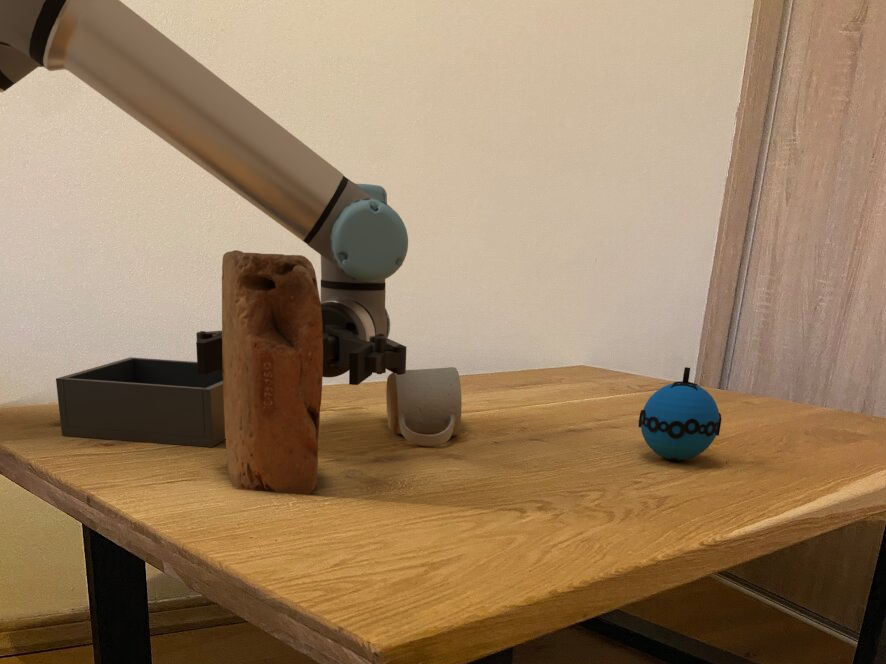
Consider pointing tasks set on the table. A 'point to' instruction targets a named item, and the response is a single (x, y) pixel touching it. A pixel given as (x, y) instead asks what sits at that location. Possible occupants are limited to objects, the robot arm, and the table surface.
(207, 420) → the bin
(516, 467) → the table surface
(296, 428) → the block
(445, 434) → the ceramic mug
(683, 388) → the ornament
